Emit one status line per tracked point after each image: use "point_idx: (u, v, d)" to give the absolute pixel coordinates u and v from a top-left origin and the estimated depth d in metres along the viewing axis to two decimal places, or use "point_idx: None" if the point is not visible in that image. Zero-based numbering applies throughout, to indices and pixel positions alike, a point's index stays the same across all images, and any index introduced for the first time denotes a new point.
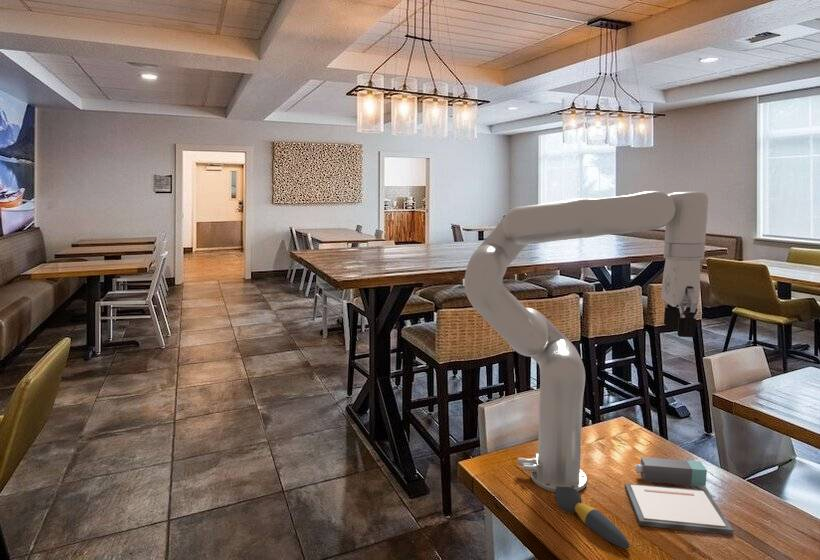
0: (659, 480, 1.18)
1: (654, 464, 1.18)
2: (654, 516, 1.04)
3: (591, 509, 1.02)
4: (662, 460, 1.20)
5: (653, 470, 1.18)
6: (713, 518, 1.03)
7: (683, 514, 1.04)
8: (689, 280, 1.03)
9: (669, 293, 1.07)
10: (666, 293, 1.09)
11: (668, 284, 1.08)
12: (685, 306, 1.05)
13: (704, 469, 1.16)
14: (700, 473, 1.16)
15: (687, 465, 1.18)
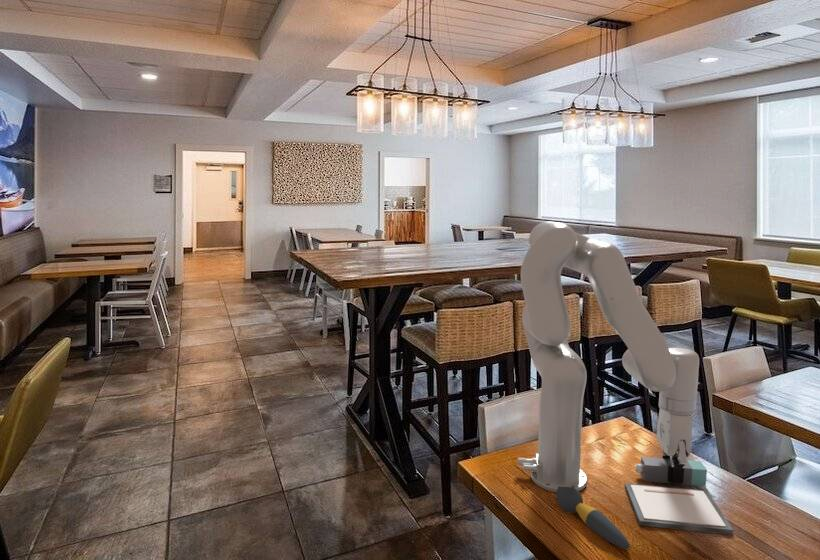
0: (659, 480, 1.18)
1: (654, 464, 1.18)
2: (654, 516, 1.04)
3: (592, 509, 1.02)
4: (662, 460, 1.20)
5: (653, 470, 1.18)
6: (713, 518, 1.03)
7: (683, 514, 1.04)
8: (682, 434, 1.13)
9: (663, 441, 1.17)
10: (661, 438, 1.19)
11: (663, 432, 1.17)
12: None
13: (704, 469, 1.16)
14: (700, 473, 1.16)
15: (687, 465, 1.18)
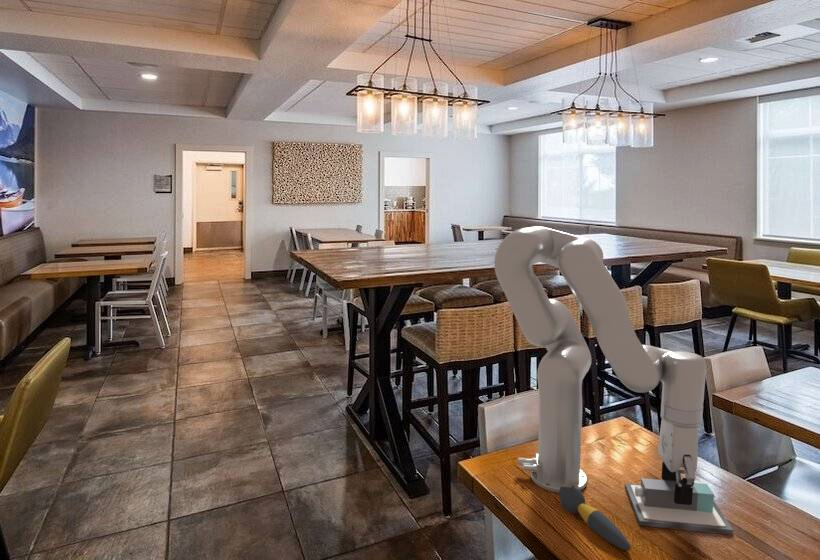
0: (661, 505, 1.06)
1: (655, 487, 1.07)
2: (654, 516, 1.04)
3: (593, 510, 1.02)
4: (664, 482, 1.09)
5: (654, 494, 1.06)
6: (713, 518, 1.03)
7: (683, 514, 1.04)
8: (686, 448, 1.01)
9: (666, 455, 1.05)
10: (663, 452, 1.07)
11: (665, 445, 1.05)
12: (682, 473, 1.02)
13: (711, 493, 1.04)
14: (706, 497, 1.04)
15: None
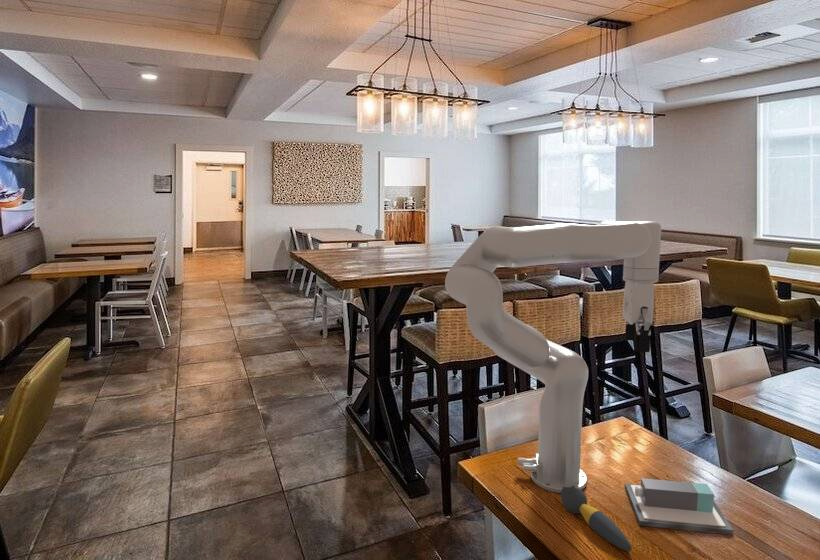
0: (661, 505, 1.06)
1: (655, 487, 1.07)
2: (654, 516, 1.04)
3: (595, 510, 1.02)
4: (664, 482, 1.09)
5: (654, 494, 1.06)
6: (713, 518, 1.03)
7: (683, 514, 1.04)
8: (644, 301, 1.15)
9: (627, 312, 1.19)
10: (625, 312, 1.21)
11: (627, 304, 1.20)
12: (641, 324, 1.17)
13: (711, 493, 1.04)
14: (706, 497, 1.04)
15: (692, 488, 1.06)
